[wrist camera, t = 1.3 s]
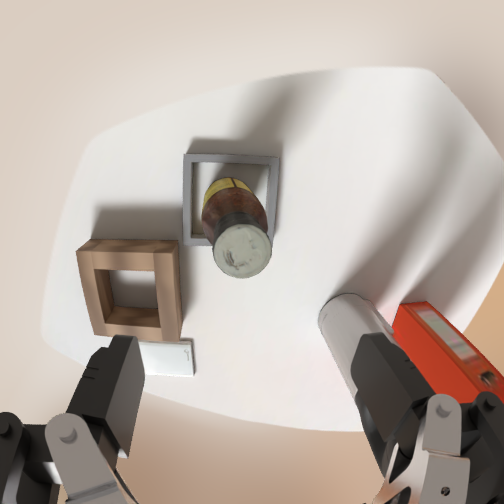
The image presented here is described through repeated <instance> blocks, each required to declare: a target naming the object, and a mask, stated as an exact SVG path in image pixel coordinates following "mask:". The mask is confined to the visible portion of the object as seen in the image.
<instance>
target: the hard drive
mask: <svg viewBox="0 0 504 504" xmlns="http://www.w3.org/2000/svg"><path fill="white" fill-rule="evenodd" d="M138 342H139V347H140V352H141V356H142V361H143V365H144V370H145V374H154V375H166V376H181V377H194V364H193V353H192V342H191V341H179V342H167V341H151V340H138Z"/></svg>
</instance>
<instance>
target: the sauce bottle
mask: <svg viewBox="0 0 504 504" xmlns="http://www.w3.org/2000/svg"><path fill="white" fill-rule="evenodd" d="M202 228H203V231H204V234H205V236H206V238H207V240H208V241H209V242H210V244H212V245H213V248H212V250H213V256H214V260H215V262H216V264H217V266H218V267H219V268H220V269H221V270H222V271H223V272H224V273H226V274H227V275H229V276H232V277H235V278H242V279H243V278H249V277H252V276H254V275H256V274H258V273H260V272H261V271H262V270H263V269H264V268H265V267H266V266H267V264H268V263H269V260H270V258H271V255H272V245H271V241H270V239H269V236H268V234H267V232H268V223H267V216H266V212H265V210H264V208H263V206H262V205H261V203H260V201H259V200H258V198H257V197H256V196H255V195H254V194H253V193H252V191H251V190H250V189H249V188H248V187H247V186H246V185H245V184H244V183H243V182H242V181H240V180H238V179H235V178H230V177H228V178H223V179H219V180H217V181H215V182H214V183H212V185H210V187H209V188H208V190H207V191H206V193H205V197H204V202H203V209H202Z"/></svg>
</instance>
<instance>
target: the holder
mask: <svg viewBox="0 0 504 504" xmlns="http://www.w3.org/2000/svg"><path fill="white" fill-rule="evenodd" d="M76 256H77V262H78V267H79V273H80V278H81V283H82V288H83V292H84V297H85V301H86V305H87V309H88V313H89V317H90V321H91V324H92V328H93V331H94V335H99V336H108V337H114V335H115V334H119V335H130V336H136V337H137V339H138V340H151V341H167V342H179V340H180V335H181V330H182V324H183V320H182V307H181V293H180V275H179V253H178V240H109V239H90V240H89V241H88V242H86V243H85V244H84V245H83V246H81V247H80V248H79V249H78V250H77V251H76ZM108 270H132V271H154V272H155V283H156V292H157V302H158V309H148V308H131V307H117V306H114V301H113V295H112V290H111V284H110V278H109V271H108Z"/></svg>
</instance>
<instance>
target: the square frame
mask: <svg viewBox="0 0 504 504" xmlns="http://www.w3.org/2000/svg"><path fill="white" fill-rule="evenodd" d="M279 161H280V158H277V157H265V156H248V155H224V154H184V159H183V245H185V246H213V245H212V244H210V242H209V241H208V240H207V238H206V236H205V234H192V179H193V162H216V163H244V164H263V165H269V170H268V184H267V198H266V211H265V212H266V216H267V223H268V232H267V234H268V236H269V239H270V241H271V245H272V247H273V235H274V224H275V212H276V200H277V187H278V174H279Z"/></svg>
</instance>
